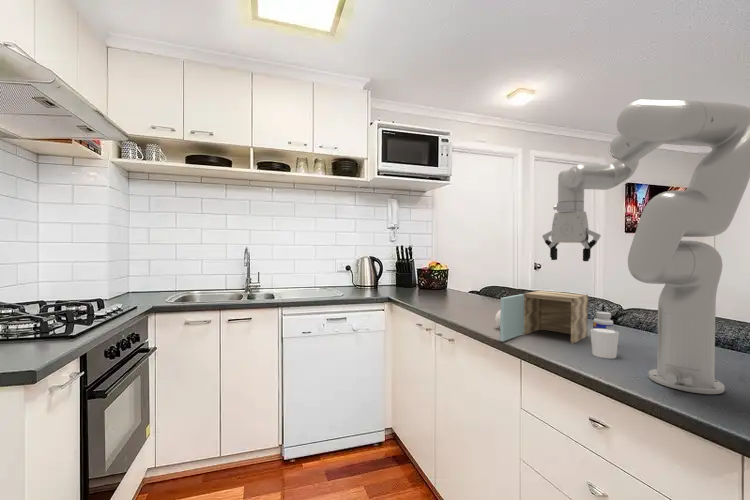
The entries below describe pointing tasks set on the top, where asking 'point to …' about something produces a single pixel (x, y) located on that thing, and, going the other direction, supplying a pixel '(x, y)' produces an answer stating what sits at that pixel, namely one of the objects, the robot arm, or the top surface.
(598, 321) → the pill bottle
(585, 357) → the top surface
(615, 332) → the white cup
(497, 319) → the egg
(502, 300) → the door
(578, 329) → the cabinet
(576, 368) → the top surface
